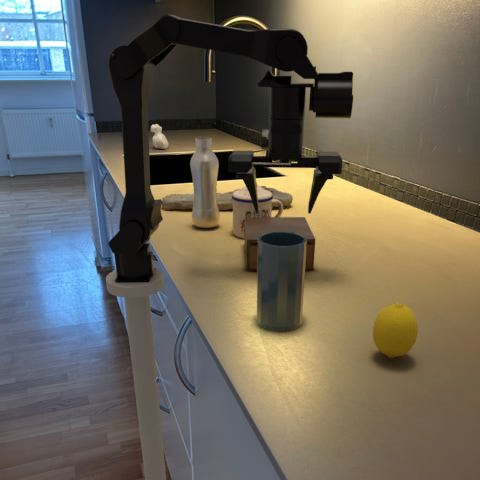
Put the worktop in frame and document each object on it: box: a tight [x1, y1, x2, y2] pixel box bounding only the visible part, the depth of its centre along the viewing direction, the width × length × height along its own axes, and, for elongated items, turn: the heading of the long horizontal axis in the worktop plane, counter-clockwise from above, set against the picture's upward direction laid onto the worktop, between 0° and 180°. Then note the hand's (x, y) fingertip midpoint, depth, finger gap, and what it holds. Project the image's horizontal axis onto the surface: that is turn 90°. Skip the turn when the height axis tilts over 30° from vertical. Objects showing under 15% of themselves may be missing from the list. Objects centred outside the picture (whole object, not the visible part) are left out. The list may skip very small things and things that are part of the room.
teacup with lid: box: [232, 181, 284, 239], centre depth 114 cm, size 12×9×12 cm
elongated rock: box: [161, 185, 293, 211], centre depth 136 cm, size 35×5×10 cm
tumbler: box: [256, 232, 307, 332], centre depth 75 cm, size 7×7×13 cm
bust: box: [150, 123, 169, 150], centre depth 224 cm, size 12×8×11 cm
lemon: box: [372, 302, 419, 359], centre depth 66 cm, size 6×6×8 cm
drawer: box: [250, 244, 313, 269], centre depth 98 cm, size 18×11×4 cm, turn 1°
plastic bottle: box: [189, 136, 221, 229], centre depth 116 cm, size 6×7×20 cm
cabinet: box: [243, 216, 316, 272], centre depth 101 cm, size 15×13×6 cm
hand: (283, 212), depth 90 cm, fingers open, 9 cm apart
